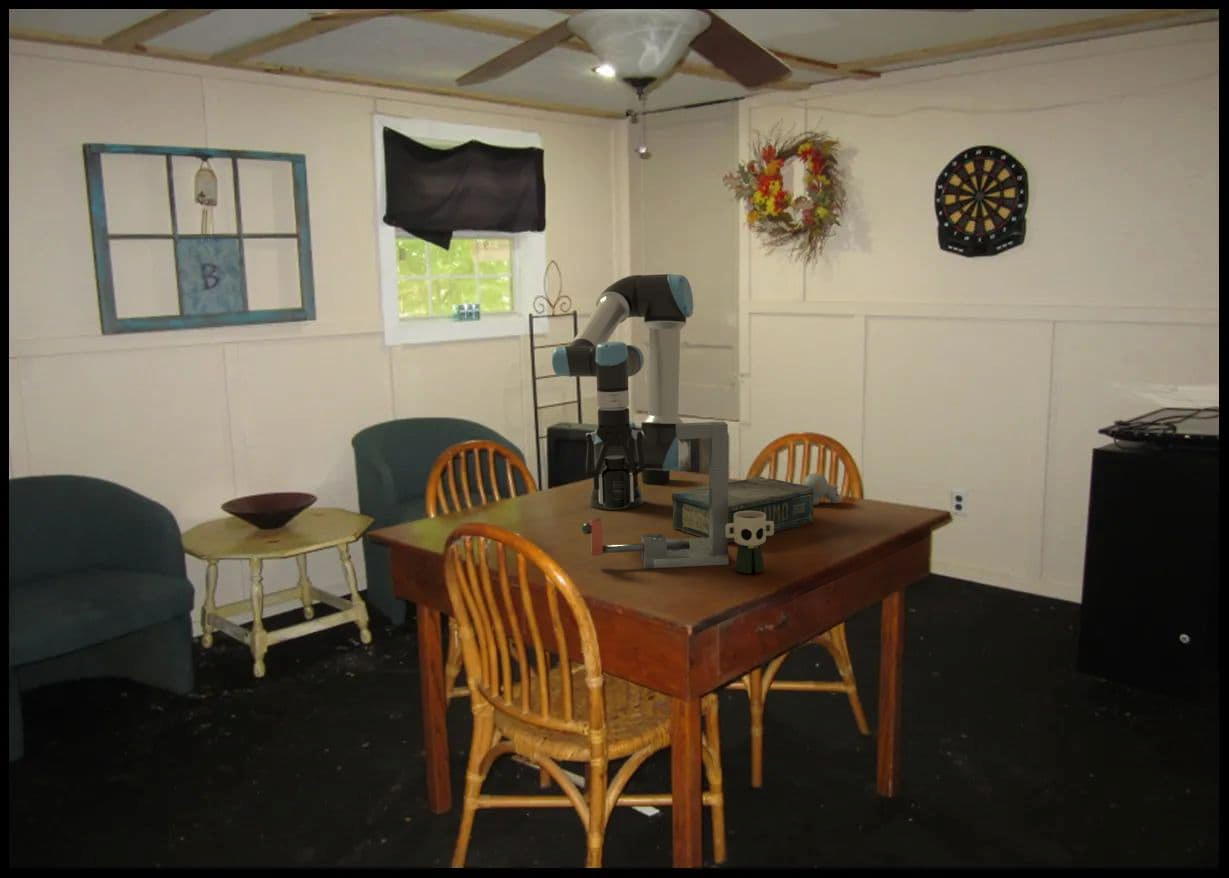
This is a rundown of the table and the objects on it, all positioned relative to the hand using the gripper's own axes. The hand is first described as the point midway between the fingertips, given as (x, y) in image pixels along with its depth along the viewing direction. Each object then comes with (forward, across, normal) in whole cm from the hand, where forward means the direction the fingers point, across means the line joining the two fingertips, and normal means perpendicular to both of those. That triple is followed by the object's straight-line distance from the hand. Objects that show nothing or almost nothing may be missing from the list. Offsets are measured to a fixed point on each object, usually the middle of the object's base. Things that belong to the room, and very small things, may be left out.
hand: (616, 501), depth 241 cm
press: (+11, +15, -13) cm, 22 cm away
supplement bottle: (+1, 0, 0) cm, 1 cm away
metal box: (+12, +34, +11) cm, 38 cm away
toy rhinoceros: (+13, +60, +31) cm, 69 cm away
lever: (+7, +3, -18) cm, 19 cm away
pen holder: (+13, +19, +68) cm, 72 cm away
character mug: (+11, +27, -27) cm, 39 cm away
